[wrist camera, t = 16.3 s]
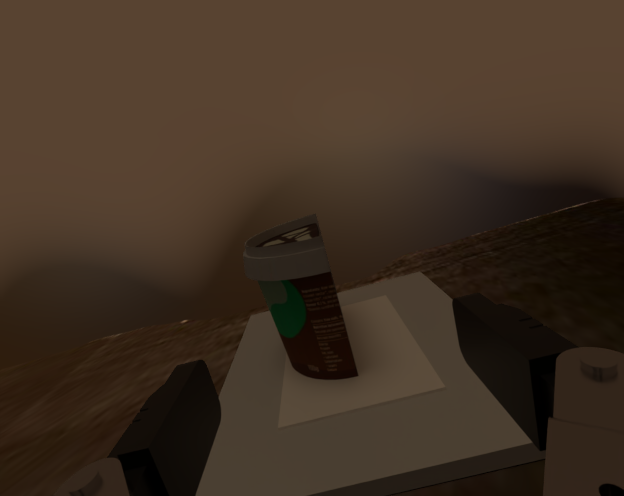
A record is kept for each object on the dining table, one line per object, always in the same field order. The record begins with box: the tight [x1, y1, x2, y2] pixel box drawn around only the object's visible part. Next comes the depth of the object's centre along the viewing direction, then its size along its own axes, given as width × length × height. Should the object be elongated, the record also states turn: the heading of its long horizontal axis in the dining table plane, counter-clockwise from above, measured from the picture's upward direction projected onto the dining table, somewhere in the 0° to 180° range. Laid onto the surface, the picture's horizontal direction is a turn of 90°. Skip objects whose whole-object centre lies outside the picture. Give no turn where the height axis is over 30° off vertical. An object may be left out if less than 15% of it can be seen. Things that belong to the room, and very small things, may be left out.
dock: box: [195, 272, 546, 496], centre depth 27 cm, size 20×24×1 cm
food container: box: [243, 214, 358, 380], centre depth 26 cm, size 12×6×10 cm, turn 0°
